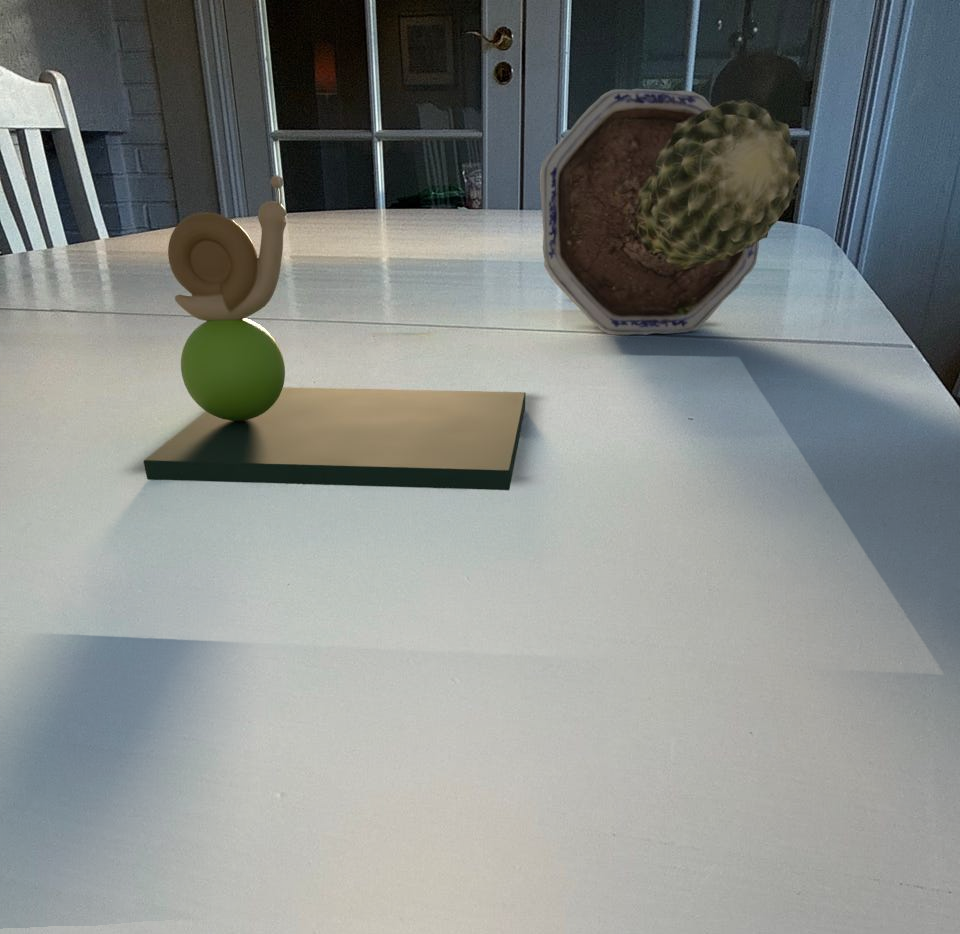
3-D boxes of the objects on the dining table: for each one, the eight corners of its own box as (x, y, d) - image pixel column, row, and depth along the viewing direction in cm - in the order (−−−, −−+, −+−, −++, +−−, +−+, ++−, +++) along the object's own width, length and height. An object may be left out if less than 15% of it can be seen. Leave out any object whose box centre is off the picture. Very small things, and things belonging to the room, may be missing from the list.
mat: (146, 479, 44) (142, 460, 44) (239, 402, 56) (237, 386, 56) (509, 490, 43) (509, 470, 42) (525, 408, 55) (525, 391, 54)
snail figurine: (300, 432, 48) (273, 178, 42) (178, 434, 47) (133, 179, 41) (314, 404, 52) (291, 172, 46) (203, 405, 52) (165, 173, 46)
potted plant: (510, 129, 78) (614, -15, 50) (705, 138, 81) (909, 7, 53) (508, 340, 83) (601, 319, 55) (692, 342, 86) (871, 323, 58)
